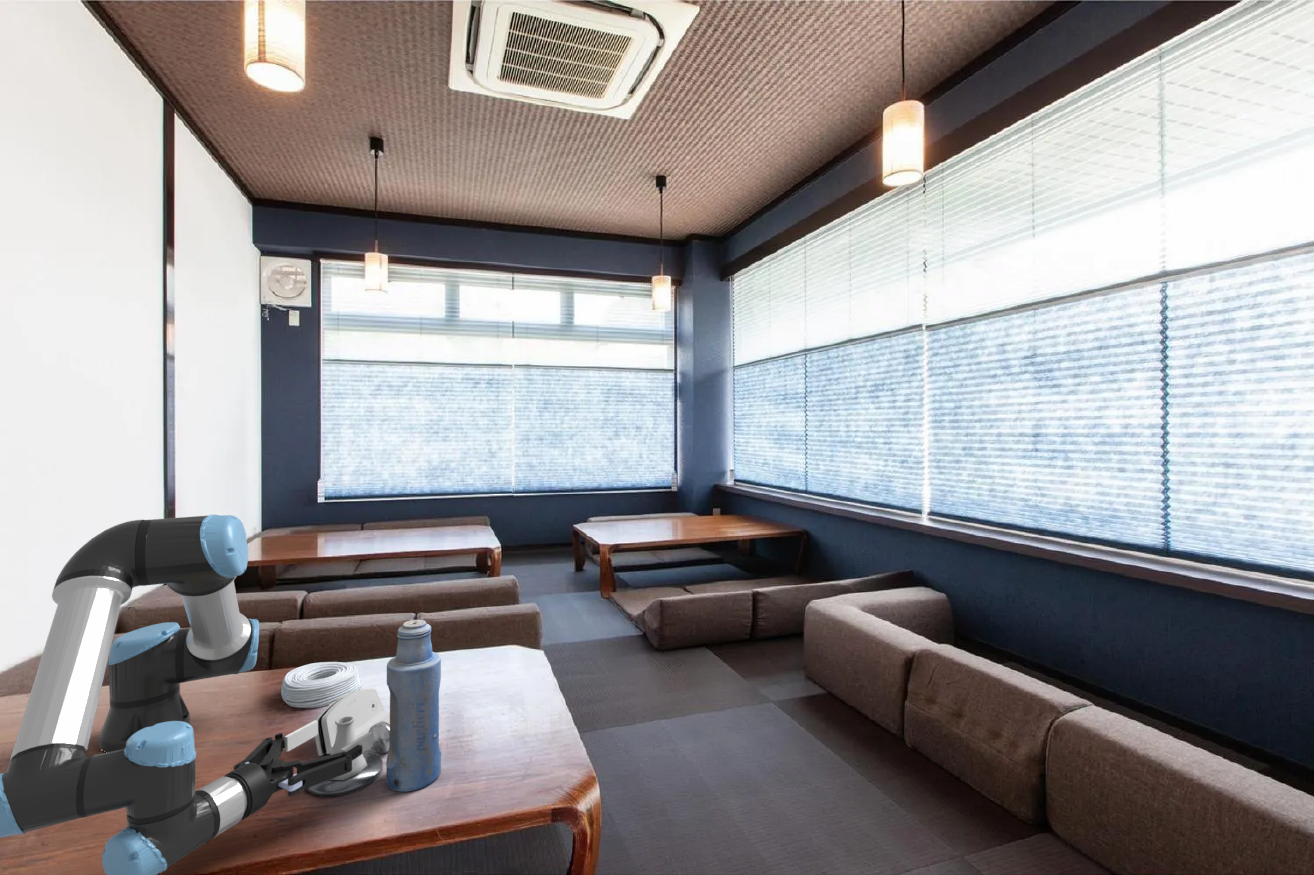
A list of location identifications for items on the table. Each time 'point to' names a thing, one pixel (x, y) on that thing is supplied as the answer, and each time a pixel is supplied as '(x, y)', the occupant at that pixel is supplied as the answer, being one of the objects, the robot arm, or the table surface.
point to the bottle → (414, 710)
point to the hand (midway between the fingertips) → (343, 732)
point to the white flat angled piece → (355, 704)
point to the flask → (343, 739)
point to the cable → (319, 684)
